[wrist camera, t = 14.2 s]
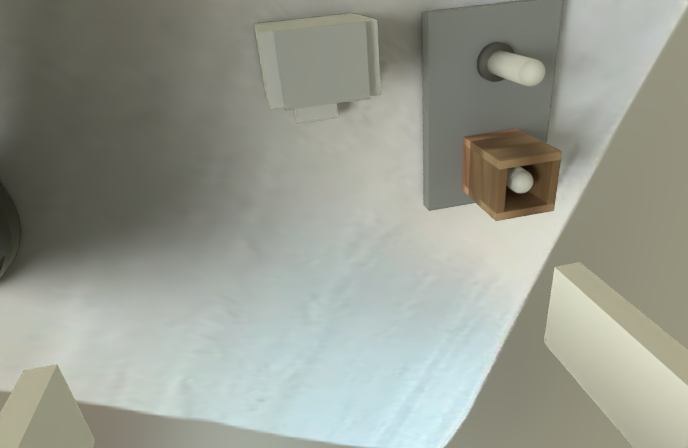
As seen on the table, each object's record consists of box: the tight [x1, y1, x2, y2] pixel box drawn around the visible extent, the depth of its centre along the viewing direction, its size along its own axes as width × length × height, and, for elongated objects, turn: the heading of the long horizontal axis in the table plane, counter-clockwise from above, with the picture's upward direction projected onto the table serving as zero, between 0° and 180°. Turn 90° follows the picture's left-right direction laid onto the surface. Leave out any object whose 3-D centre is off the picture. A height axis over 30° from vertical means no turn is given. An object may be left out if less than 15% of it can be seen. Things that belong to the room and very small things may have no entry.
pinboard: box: [422, 0, 563, 211], centre depth 41 cm, size 12×18×8 cm, turn 5°
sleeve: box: [462, 129, 562, 221], centre depth 43 cm, size 5×5×7 cm
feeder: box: [254, 13, 381, 124], centre depth 36 cm, size 8×8×9 cm
